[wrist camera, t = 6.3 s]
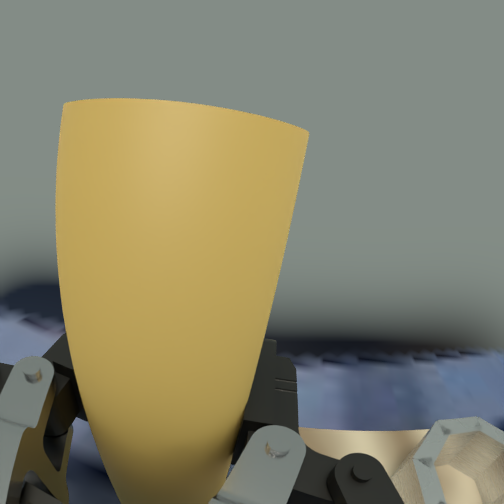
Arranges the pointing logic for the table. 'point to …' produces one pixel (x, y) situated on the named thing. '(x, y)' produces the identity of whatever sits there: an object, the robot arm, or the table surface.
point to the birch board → (390, 456)
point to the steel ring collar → (454, 461)
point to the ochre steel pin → (170, 279)
